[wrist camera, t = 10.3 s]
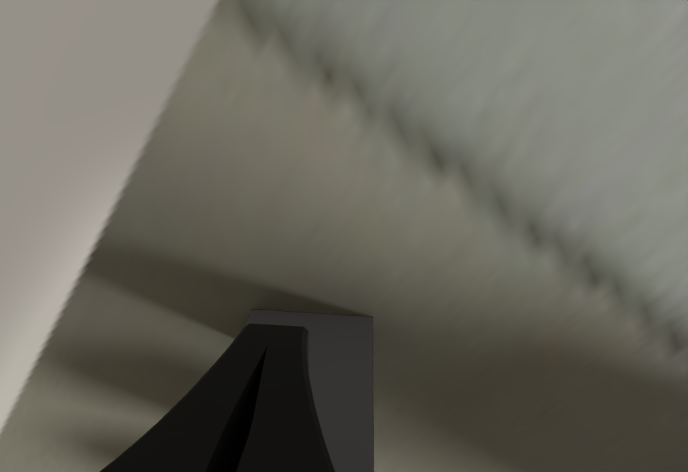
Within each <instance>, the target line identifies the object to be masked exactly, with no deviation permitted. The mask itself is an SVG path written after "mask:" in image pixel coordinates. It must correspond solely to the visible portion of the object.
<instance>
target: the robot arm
mask: <svg viewBox="0 0 688 472" xmlns="http://www.w3.org/2000/svg"><path fill="white" fill-rule="evenodd" d="M308 370H309V331H308V330H307V329H306V328H305V327H301V326H285V325H269V324H252V323H249V324H248V325H247V326H246V327H245V328H244V329H243V330H242V331H241V333H240V334H239V335H238V336H237V338H236V339H235V340H234V341H233V343H232V344H231V345H230V346H229V347H228V349H227V350H226V351H225V352H224V353H223V355H222V356H221V357H220V358H219V359H218V360H217V362H216V363H215V364H214V365H213V366H212V367H211V368H210V369H209V370H208V372H207V373H206V374H205V375H204V376H203V377H202V378H201V379H200V380H199V381H198V382H197V384H196V385H195V386H194V387H193V388H192V389H191V390H190V391H189V392H188V393H187V394H186V395H185V396H184V397H183V398H182V399H181V400H180V401H179V402H178V403H177V404H176V405H175V406H174V407H173V408H172V409H171V410H170V411H169V412H168V413H167V414H166V415H165V416H164V417H163V418H162V419H161V420H160V421H159V422H158V423H157V424H155V425H154V426H153V427H152V428H151V429H150V430H149V431H148V432H147V433H146V434H144V435H143V436H142V437H141V438H140V439H139V440H138V441H137V442H135V443H134V444H133V445H132V446H131V447H129V448H128V449H127V450H126V451H125V452H124V453H122V454H121V455H120V456H119V457H118V458H116V459H115V460H114V461H113V462H111V463H110V464H109V465H108V466H106V467H105V468H104V469H102V470H101V471H100V472H335V470H334V467H333V464H332V461H331V459H330V456H329V453H328V450H327V447H326V443H325V440H324V437H323V434H322V430H321V427H320V423H319V419H318V416H317V412H316V408H315V404H314V399H313V394H312V389H311V384H310V378H309V372H308Z"/></svg>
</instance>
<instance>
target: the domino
mask: <svg viewBox="0 0 688 472" xmlns="http://www.w3.org/2000/svg"><path fill="white" fill-rule="evenodd" d="M249 323H252V324H269V325H285V326H301V327H305V328H306V329H307V330H308V331H309V370H308V372H309V378H310V384H311V389H312V394H313V399H314V404H315V408H316V412H317V416H318V419H319V423H320V427H321V430H322V434H323V437H324V440H325V443H326V447H327V450H328V453H329V456H330V459H331V461H332V464H333V467H334V470H335V472H374V425H373V317H367V316H351V315H335V314H319V313H303V312H287V311H271V310H255V309H252V310H251V313H250V315H249V318H248V321H247V324H246V326H247V325H248V324H249ZM246 326H245V327H246Z"/></svg>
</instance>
